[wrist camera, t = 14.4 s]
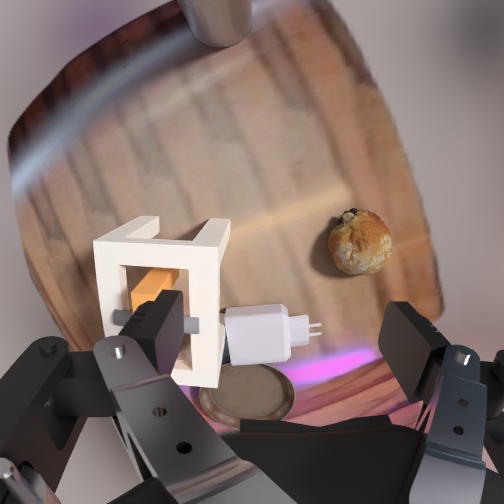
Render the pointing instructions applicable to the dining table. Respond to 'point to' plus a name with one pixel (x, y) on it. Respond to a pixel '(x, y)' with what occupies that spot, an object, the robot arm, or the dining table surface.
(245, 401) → the plant saucer
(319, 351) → the dining table surface
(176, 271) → the orange arch block
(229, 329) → the charger
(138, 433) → the robot arm
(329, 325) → the dining table surface
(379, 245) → the bread roll
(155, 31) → the dining table surface
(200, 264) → the white square table frame
